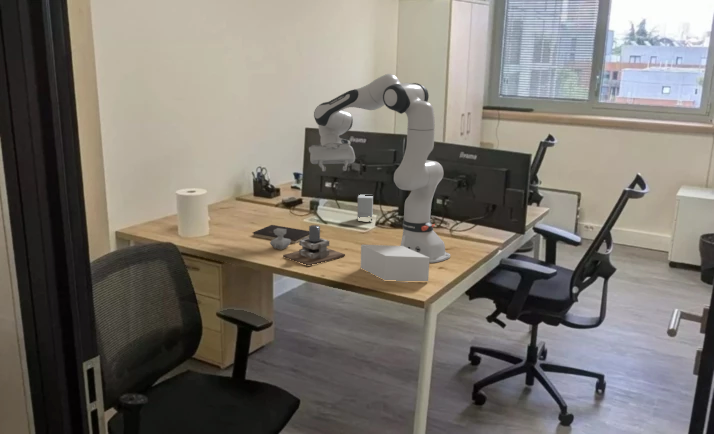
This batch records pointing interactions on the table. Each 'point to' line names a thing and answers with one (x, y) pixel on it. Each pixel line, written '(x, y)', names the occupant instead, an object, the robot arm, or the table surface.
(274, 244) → the stamp
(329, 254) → the collar stand
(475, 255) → the table surface
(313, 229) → the tube
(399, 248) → the grey wedge block
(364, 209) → the supplement box
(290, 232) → the hardcover book
